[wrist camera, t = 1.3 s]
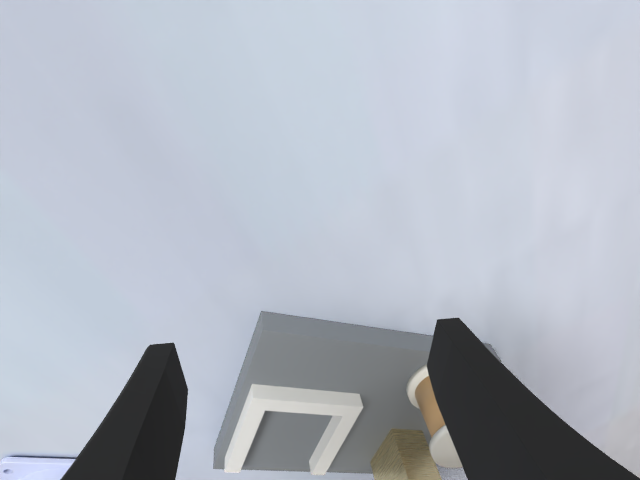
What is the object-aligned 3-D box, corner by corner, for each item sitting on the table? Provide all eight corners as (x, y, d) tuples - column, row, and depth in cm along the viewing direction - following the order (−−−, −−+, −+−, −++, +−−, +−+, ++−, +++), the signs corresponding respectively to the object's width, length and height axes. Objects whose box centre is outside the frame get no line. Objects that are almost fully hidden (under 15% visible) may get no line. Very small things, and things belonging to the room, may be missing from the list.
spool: (451, 406, 30) (481, 469, 26) (395, 401, 29) (419, 467, 25) (482, 362, 28) (520, 424, 24) (424, 354, 27) (455, 418, 23)
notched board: (410, 456, 36) (421, 487, 33) (214, 448, 31) (212, 483, 29) (490, 344, 29) (509, 373, 27) (261, 311, 25) (263, 343, 23)
